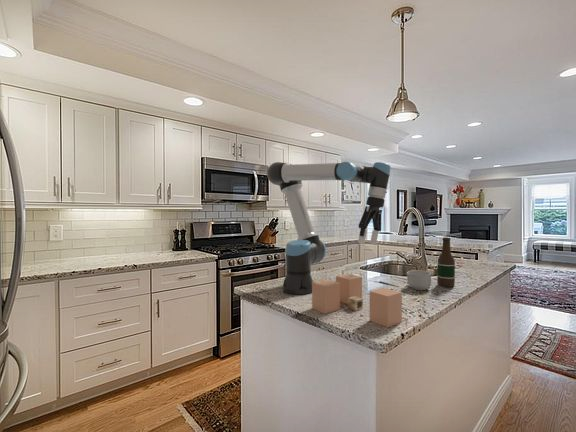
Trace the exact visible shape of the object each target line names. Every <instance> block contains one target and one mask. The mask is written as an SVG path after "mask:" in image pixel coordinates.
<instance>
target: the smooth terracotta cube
mask: <svg viewBox="0 0 576 432" xmlns="http://www.w3.org/2000/svg"><path fill="white" fill-rule="evenodd" d="M360 276H361V275H360ZM360 276H356V275H353V274H351V273H346V274H341V275H336V276H335V282H338V283H340V303H343V304H346V305H348V298H350V297H354V296H356V297H359V298H362V299H363V278H362V277H363V276H362V277H360Z"/></svg>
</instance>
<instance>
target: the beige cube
mask: <svg viewBox="0 0 576 432" xmlns="http://www.w3.org/2000/svg"><path fill="white" fill-rule="evenodd" d="M347 308H348V309H350V310H352V311H356V312H357V311H359V310H362V309H363V308H364V299H363V297H362V298H359V297H356V296H354V297H350V298H348V304H347Z"/></svg>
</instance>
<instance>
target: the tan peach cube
mask: <svg viewBox="0 0 576 432" xmlns="http://www.w3.org/2000/svg"><path fill="white" fill-rule="evenodd" d="M402 310H403V292H401V291H398V290H394V289H389V288H385V287H381V288H377V289H373V290H370V291H369V313H368V314H369V316H368V317H369V321H370V322H373V323H376V324H377V325H380V326H383V327H386V328H390V327H392V326H395V325H398V324H401V323H402V322H403V320H402V318H403V315H402V314H403V313H402Z"/></svg>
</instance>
